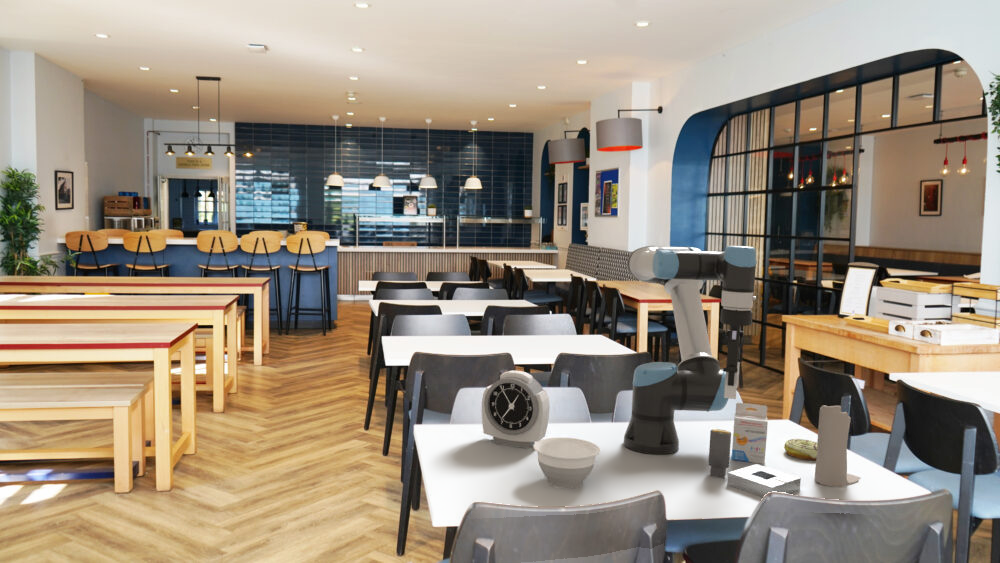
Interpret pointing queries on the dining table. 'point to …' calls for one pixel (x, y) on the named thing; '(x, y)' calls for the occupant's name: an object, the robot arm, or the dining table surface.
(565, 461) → the bowl
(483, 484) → the dining table surface
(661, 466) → the dining table surface
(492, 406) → the alarm clock
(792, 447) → the decorated donut
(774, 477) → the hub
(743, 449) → the ink box
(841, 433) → the grey boot shape
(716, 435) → the grey rectangular block
